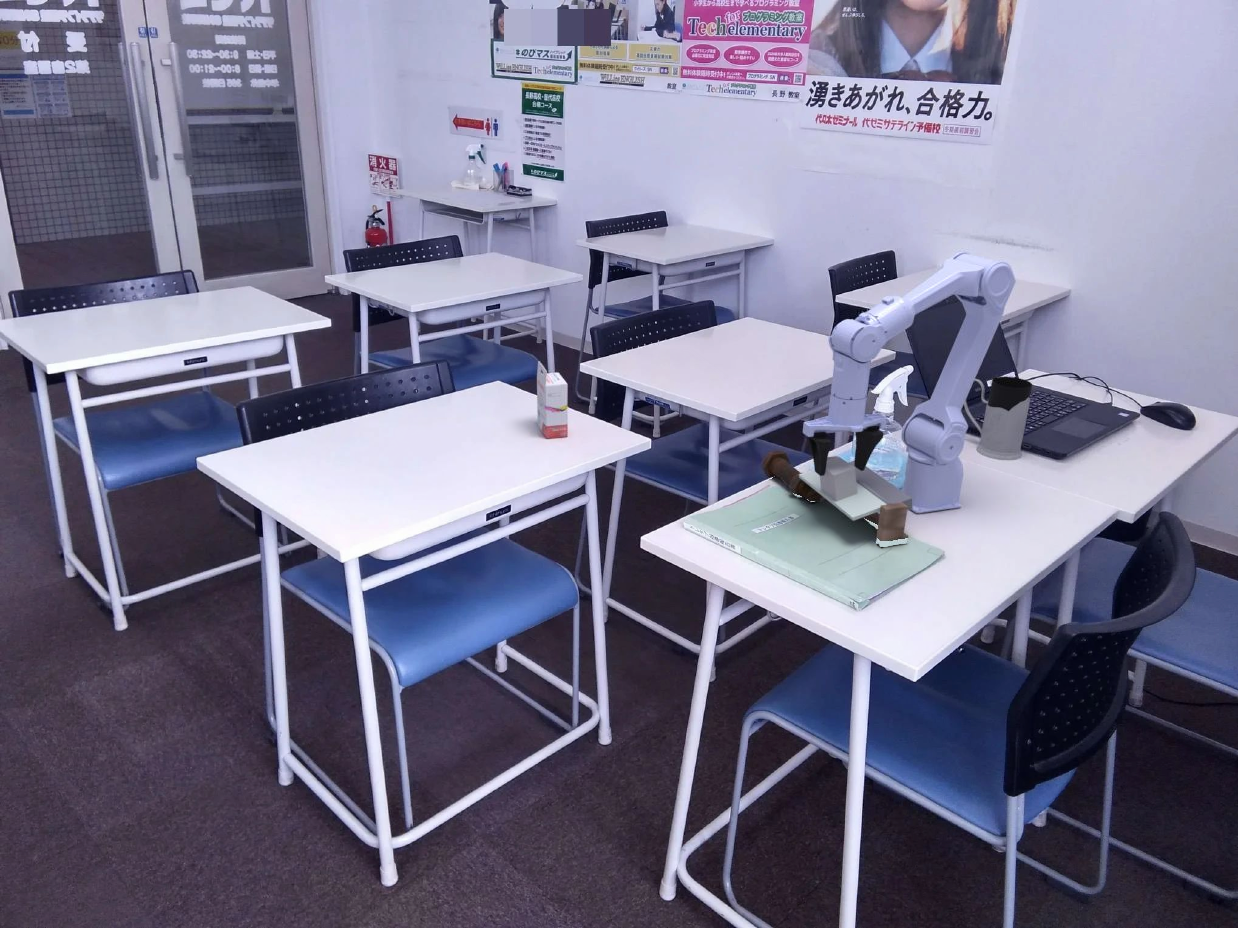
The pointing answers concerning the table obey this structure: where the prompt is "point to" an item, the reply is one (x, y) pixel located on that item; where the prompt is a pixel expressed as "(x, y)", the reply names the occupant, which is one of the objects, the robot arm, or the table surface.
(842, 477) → the grey cube
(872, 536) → the table surface
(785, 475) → the bolt
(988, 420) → the glass holder
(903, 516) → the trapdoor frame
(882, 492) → the trapdoor
